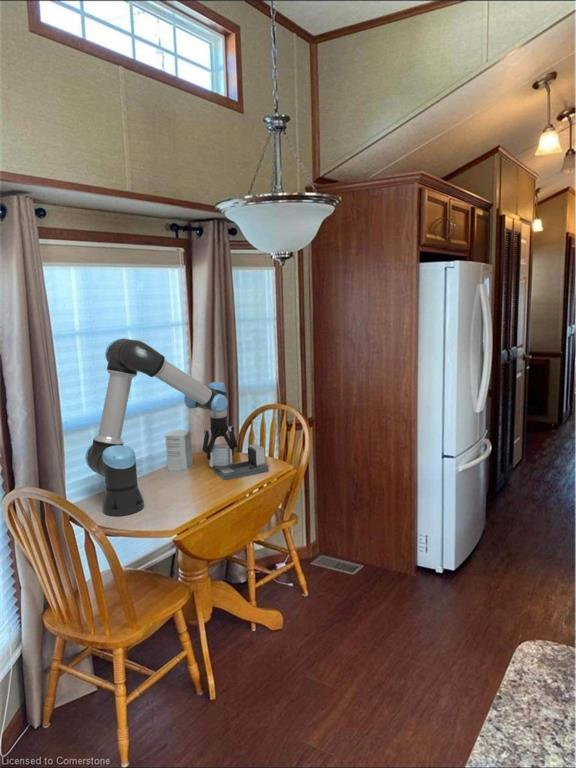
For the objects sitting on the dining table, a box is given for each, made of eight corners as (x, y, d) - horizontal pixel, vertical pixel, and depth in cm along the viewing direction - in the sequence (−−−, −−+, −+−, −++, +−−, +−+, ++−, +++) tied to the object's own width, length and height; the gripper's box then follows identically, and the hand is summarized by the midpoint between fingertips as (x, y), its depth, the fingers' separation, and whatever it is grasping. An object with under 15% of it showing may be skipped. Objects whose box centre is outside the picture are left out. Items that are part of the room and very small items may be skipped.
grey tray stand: (224, 480, 242) (222, 457, 240) (213, 473, 252) (212, 450, 251) (268, 471, 252) (267, 448, 250) (256, 464, 262) (255, 442, 260)
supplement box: (174, 464, 267) (171, 429, 264) (193, 464, 266) (190, 429, 263) (167, 471, 258) (164, 435, 255) (187, 471, 257) (184, 435, 254)
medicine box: (230, 463, 261) (229, 445, 260) (228, 466, 257) (227, 448, 256) (213, 463, 262) (212, 445, 261) (211, 466, 258) (210, 447, 256)
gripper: (237, 411, 264) (239, 458, 268) (193, 417, 254) (195, 466, 258) (243, 414, 258) (245, 462, 261) (198, 421, 247) (201, 470, 251)
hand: (220, 464), depth 260 cm, fingers closed on medicine box, 9 cm apart
